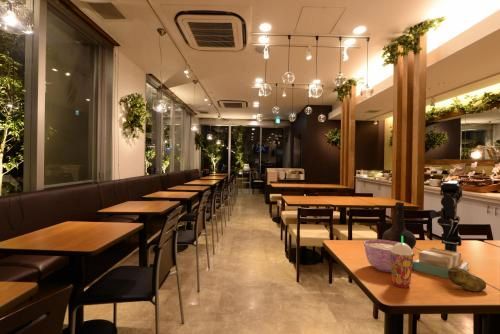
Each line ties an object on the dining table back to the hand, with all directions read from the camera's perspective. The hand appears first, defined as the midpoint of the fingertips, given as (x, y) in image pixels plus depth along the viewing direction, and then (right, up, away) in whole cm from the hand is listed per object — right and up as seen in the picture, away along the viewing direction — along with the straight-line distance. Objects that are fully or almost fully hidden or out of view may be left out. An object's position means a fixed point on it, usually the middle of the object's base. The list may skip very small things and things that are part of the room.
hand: (448, 236), depth 159 cm
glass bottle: (-17, -13, +19) cm, 28 cm away
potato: (-17, -13, -37) cm, 43 cm away
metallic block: (-14, -13, -15) cm, 24 cm away
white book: (-13, -13, -14) cm, 23 cm away
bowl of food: (-40, -12, -15) cm, 44 cm away
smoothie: (-42, -12, -35) cm, 56 cm away
